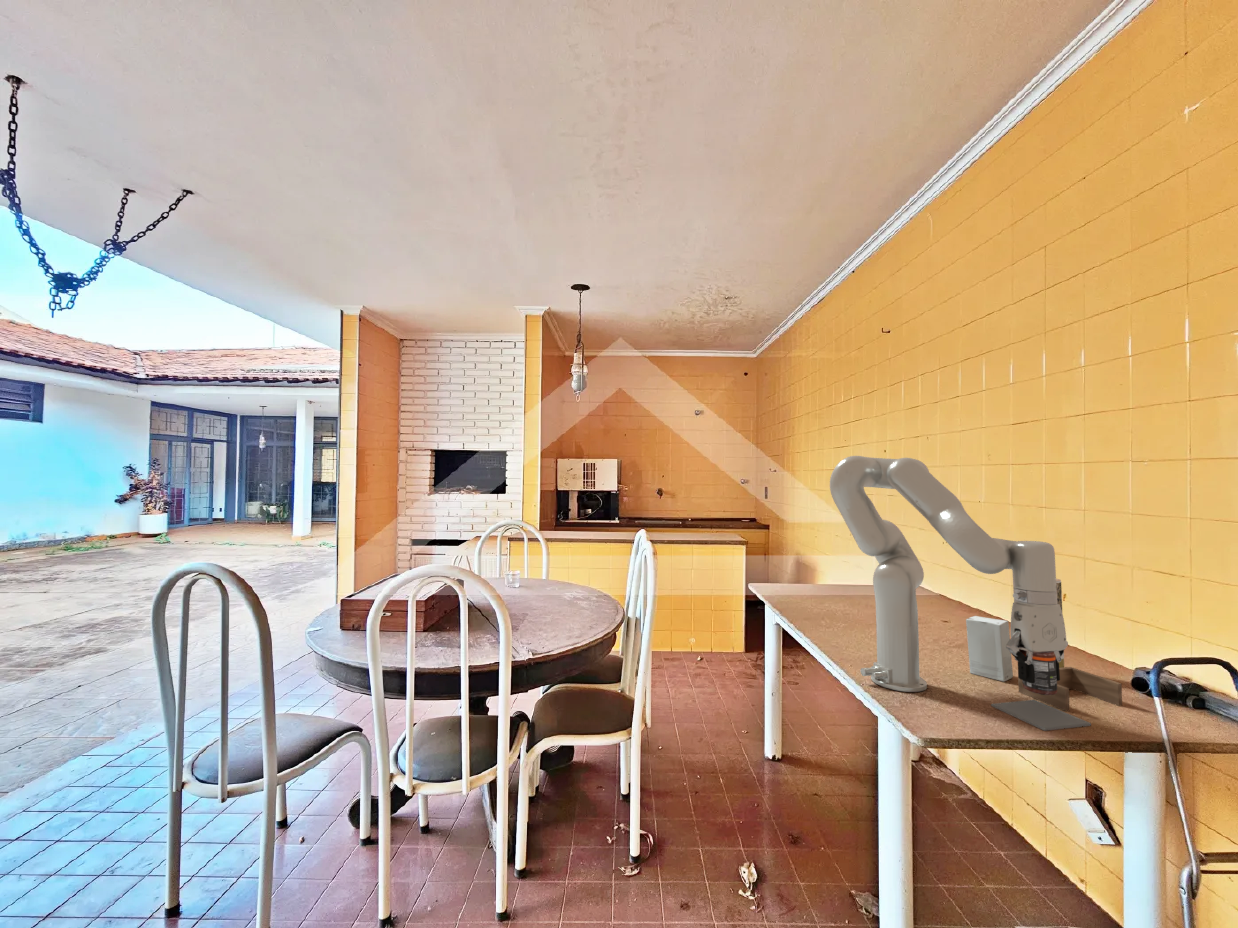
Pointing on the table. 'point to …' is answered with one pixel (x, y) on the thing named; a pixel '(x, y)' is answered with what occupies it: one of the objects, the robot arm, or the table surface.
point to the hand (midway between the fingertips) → (1039, 678)
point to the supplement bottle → (1043, 674)
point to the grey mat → (1040, 715)
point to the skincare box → (989, 648)
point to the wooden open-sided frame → (1078, 688)
